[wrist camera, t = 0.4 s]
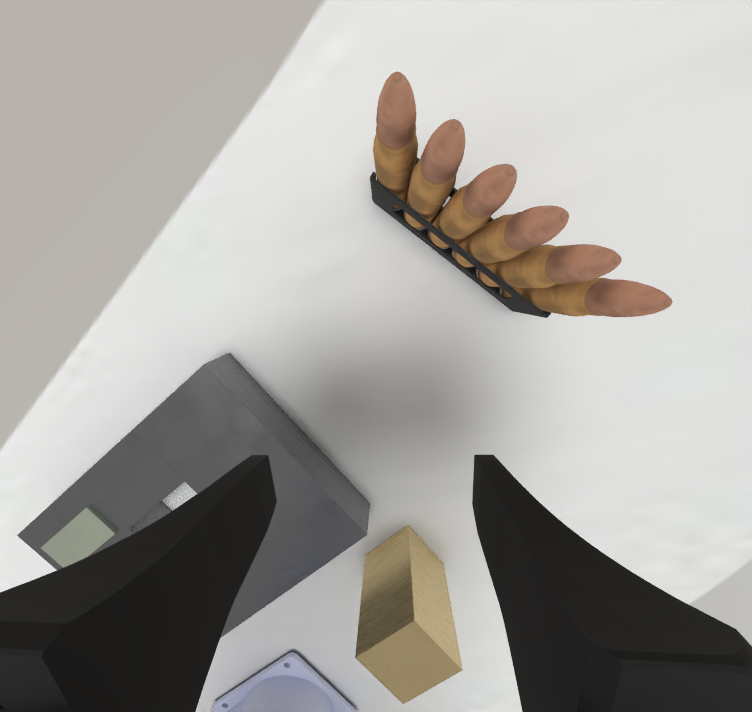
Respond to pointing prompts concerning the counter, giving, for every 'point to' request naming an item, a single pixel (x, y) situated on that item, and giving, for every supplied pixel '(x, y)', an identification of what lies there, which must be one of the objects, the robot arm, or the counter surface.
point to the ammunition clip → (491, 223)
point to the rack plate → (199, 470)
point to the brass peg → (406, 617)
